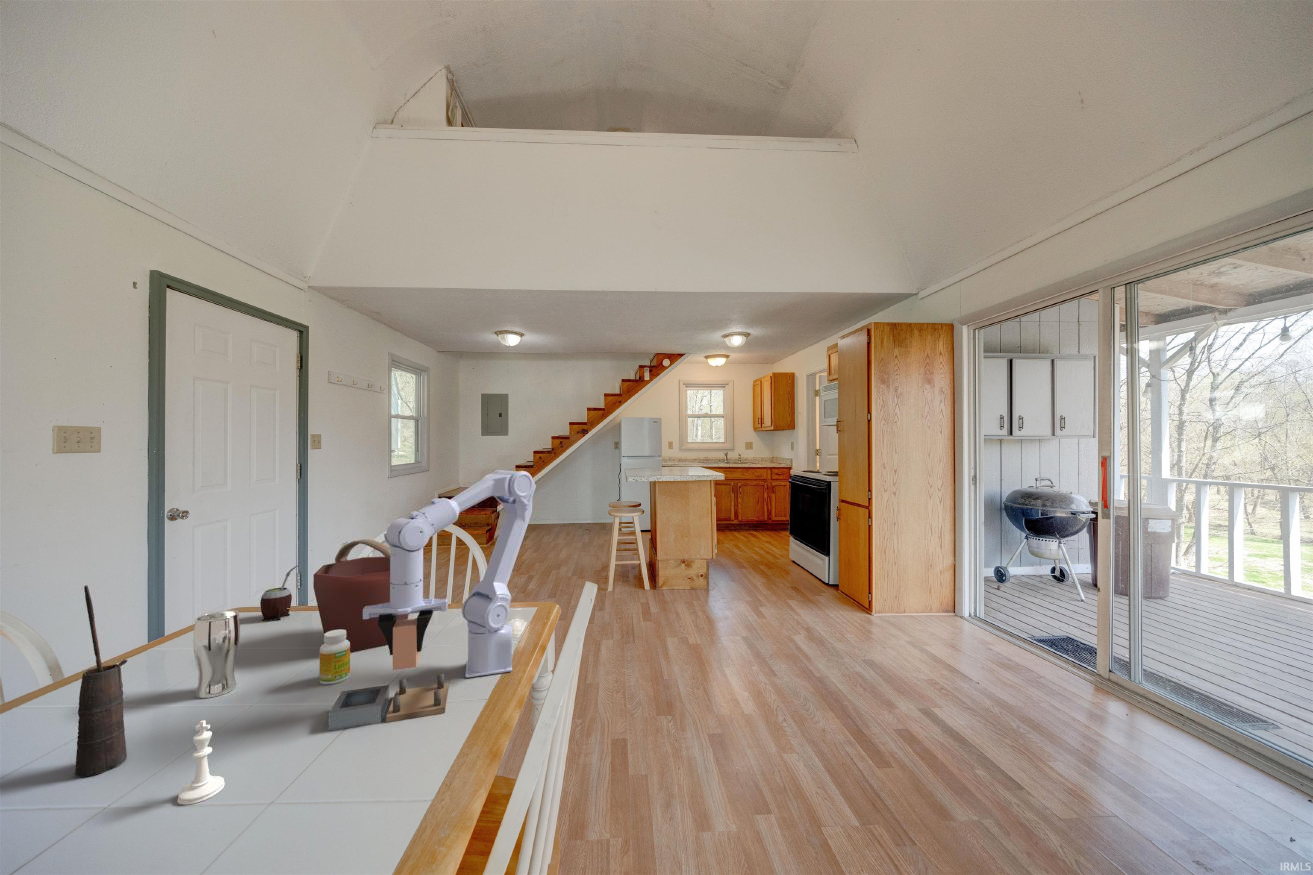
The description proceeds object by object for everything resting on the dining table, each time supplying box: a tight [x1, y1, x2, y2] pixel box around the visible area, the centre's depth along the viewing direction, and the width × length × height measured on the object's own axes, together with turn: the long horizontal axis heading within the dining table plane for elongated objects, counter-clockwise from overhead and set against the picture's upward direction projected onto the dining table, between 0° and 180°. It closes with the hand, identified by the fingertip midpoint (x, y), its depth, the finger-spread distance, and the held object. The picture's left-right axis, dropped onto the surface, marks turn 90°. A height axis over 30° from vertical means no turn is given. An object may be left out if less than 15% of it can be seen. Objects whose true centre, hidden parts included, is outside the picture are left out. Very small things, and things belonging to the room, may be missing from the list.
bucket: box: [313, 539, 410, 654], centre depth 125 cm, size 24×22×25 cm
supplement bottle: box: [318, 629, 351, 685], centre depth 104 cm, size 5×5×10 cm
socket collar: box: [328, 684, 391, 732], centre depth 90 cm, size 8×8×3 cm
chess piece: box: [177, 719, 226, 806], centre depth 70 cm, size 5×5×10 cm
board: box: [385, 673, 450, 723], centre depth 93 cm, size 10×10×4 cm
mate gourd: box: [259, 564, 300, 622], centre depth 140 cm, size 8×8×15 cm
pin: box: [392, 617, 420, 671], centre depth 95 cm, size 4×4×8 cm
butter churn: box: [74, 584, 128, 778], centre depth 77 cm, size 9×10×28 cm
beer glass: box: [192, 609, 241, 699], centre depth 99 cm, size 7×7×15 cm
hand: (406, 651), depth 95 cm, fingers closed on pin, 4 cm apart
